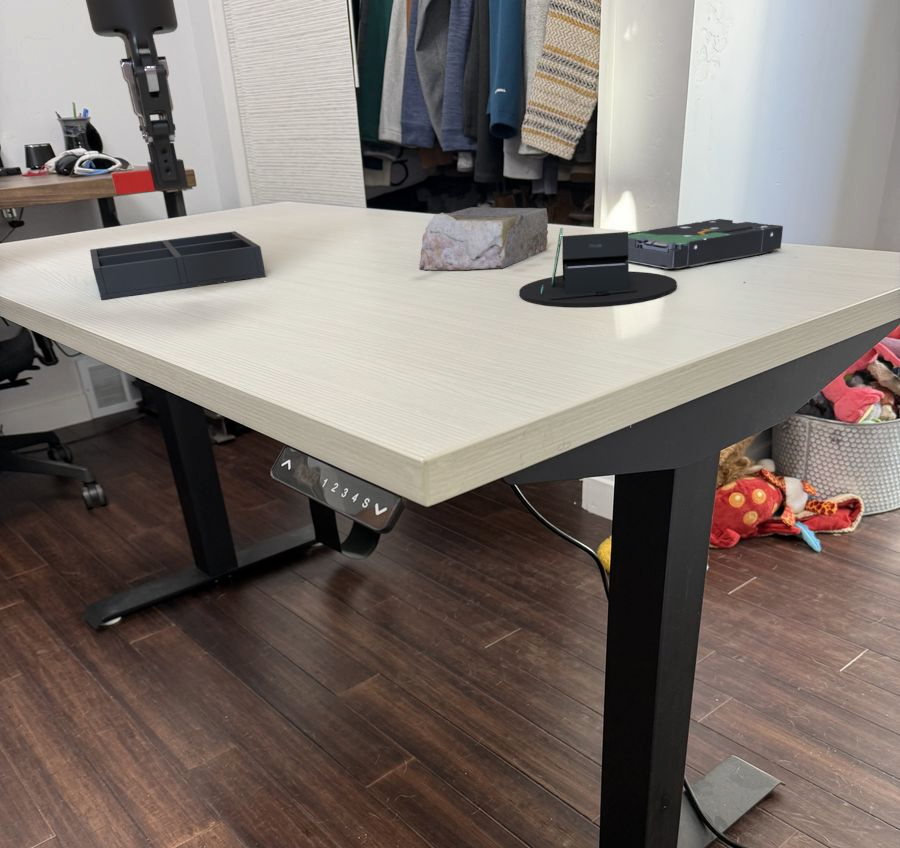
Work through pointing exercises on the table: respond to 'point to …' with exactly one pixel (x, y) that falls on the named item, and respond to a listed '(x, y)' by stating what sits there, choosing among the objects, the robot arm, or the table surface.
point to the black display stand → (596, 275)
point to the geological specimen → (483, 238)
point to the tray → (175, 264)
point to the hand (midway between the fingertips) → (168, 184)
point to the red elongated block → (143, 180)
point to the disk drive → (702, 243)
